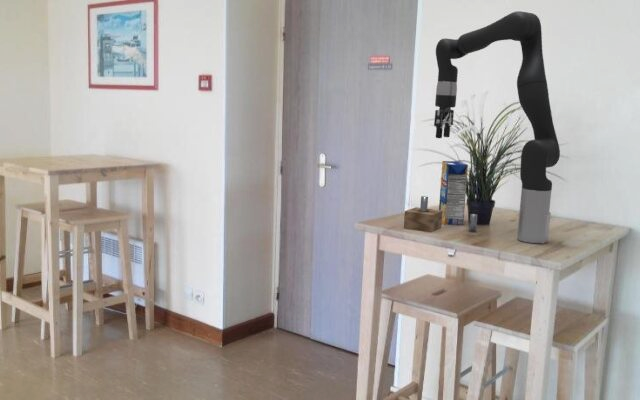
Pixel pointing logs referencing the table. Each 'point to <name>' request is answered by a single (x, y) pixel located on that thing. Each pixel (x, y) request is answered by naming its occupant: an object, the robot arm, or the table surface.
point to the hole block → (423, 219)
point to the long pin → (424, 204)
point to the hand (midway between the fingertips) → (442, 137)
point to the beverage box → (453, 192)
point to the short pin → (473, 223)
